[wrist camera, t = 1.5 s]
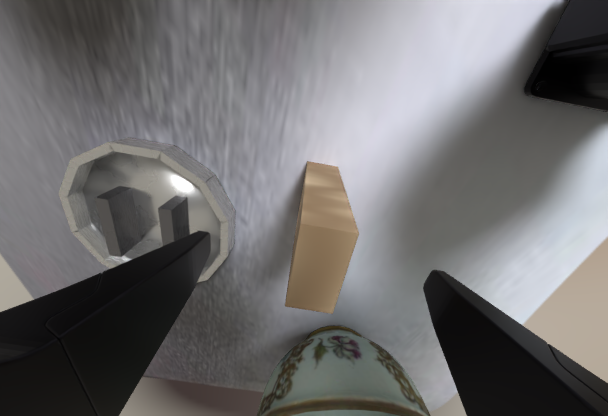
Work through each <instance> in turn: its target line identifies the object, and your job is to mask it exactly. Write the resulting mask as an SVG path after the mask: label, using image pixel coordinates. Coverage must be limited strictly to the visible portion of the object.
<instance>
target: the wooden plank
mask: <svg viewBox="0 0 608 416" xmlns="http://www.w3.org/2000/svg"><path fill="white" fill-rule="evenodd" d="M358 235H359V232H358V229H357V226H356V222H355V219H354V216H353V213H352V210H351V207H350V204H349V201H348V197H347V194H346V191H345V188H344V185H343V182H342V179H341V176H340V172H339V169H338V167H336V166H330V165H325V164H319V163H313V162H308V161H307V167H306V172H305V178H304V184H303V189H302V195H301V200H300V206H299V211H298V217H297V225H296V232H295V239H294V246H293V253H292V260H291V267H290V274H289V281H288V288H287V295H286V302H285V306H286V307H292V308H299V309H305V310H312V311H318V312H325V313H331V314H333V311H334V308H335V305H336V302H337V299H338V296H339V293H340V290H341V287H342V284H343V281H344V278H345V275H346V272H347V268H348V265H349V262H350V259H351V256H352V253H353V250H354V247H355V244H356V241H357V238H358Z"/></svg>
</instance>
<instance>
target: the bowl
mask: <svg viewBox="0 0 608 416" xmlns="http://www.w3.org/2000/svg"><path fill="white" fill-rule="evenodd" d="M257 416H430V414H429V412H428V410H427V408H426V406H425V403H424V401H423V399H422V397H421V395H420V394H419V392H418V390H417V388H416V387H415V385H414V383H413V381H412V380H411V378H410V377H409V375H408V374H407V373H406V371H405V370H404V369H403V368H402V366H401V365H400V364H399V363H398V362H397V361H396V360H395V359H394V358H393V357H392V356H391V355H390V354H389V353H388V352H387V351H386V350H384V349H383V348H381V347H380V346H379V345H377V344H375V343H374V342H372V341H370V340H367V339H365V338H362V336H361V335H359V334H358V333H356V332H355V331H353V330H351V329H349V328H346V327H342V326H327V327H322V328H320V329H317V330H315V331H313V332H312V333H311V334H310V335H309V336H308V337H307V339H306V340H305V341H303V342H302V343H300V344H298V345H297V346H295V347H294V348H293V349H291V350H290V351H289V352H288V353H287V354H286V355H285V357H284V358H283V359H282V360H281V361H280V363H279V364H278V365H277V367H276V368H275V370H274V371H273V373H272V375H271V377H270V379H269V381H268V383H267V386H266V388H265V391H264V394H263V396H262V400H261V403H260V406H259V410H258V414H257Z"/></svg>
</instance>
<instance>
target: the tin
mask: <svg viewBox="0 0 608 416" xmlns="http://www.w3.org/2000/svg"><path fill="white" fill-rule="evenodd" d="M59 197H60V200H61V202H62V205H63V208H64V211H65V214H66V217H67V220H68V223H69V226H70V229H71V231H72V233H73V234H74V235H75V236H76V237H77V238H78V239H79V240H80V241H81V242H82V243H83V245H84V246H85V247H86V248H87V249H88V250H89V251H90V252H91V253H92V254H93V255H94V256H95V257H96V258H97V259H98V261H99V262H100V263H102V264H104V265H105V266H107V267H109V268H113V267H115V266H118V265H120V264H122V263H125V262H127V261H129V260H132V259H134V258H136V257H139V256H141V255H143V254H146V253H148V252H150V251H153V250H155V249H157V248H160V247H162V246H164V245H166V244H169V243H171V242H173V241H176V240H178V239H180V238H183V237H185V236H187V235H190V234H192V233H194V232H197V231H206V232H209V233H210V235H211V252H210V255H209V257H208V260H207V262H206V264H205V266H204V268H203V271H202V273H201V275H200V277H199V280H198V282H202V281H205V280H208V279H209V278H210V277H211V275H212V274H213V273H214V272H215V271H216V270H217V268H218V267H219V266H220V265H221V264H222V263H223V261H224V260H225V259H226V258H227V256H228V255H229V253H230V251H231V249H232V247H233V245H234V240H235V215H236V211H235V209H234V207H233V205H232V204H231V202H230V200H229V198H228V196H227V195H226V193H225V191H224V189H223V187H222V186H221V184H220V182H219V180H218V178H217V177H216V175H215V174H214V173H213V172H211V171H210V170H209V169H207V168H206V167H204V166H203V165H202V164H200V163H199V162H197V161H196V160H195V159H193V158H192V157H190V156H189V155H188V154H186V153H185V152H183V151H182V150H181V149H179V148H178V147H177V146H174V145H169V144H163V143H157V142H152V141H146V140H141V139H135V138H124V139H120V140H116V141H111V142H108V143H105V144H103V145H101V146H99V147H96V148H94V149H92V150H90V151H88V152H85V153H83V154H81V155H79V156H77V157H74V158H72V159H70V162H69V165H68V168H67V171H66V174H65V176H64V179H63V182H62V185H61V188H60V191H59ZM198 282H197V283H198Z"/></svg>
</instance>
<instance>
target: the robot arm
mask: <svg viewBox="0 0 608 416" xmlns="http://www.w3.org/2000/svg"><path fill="white" fill-rule="evenodd" d="M539 82H540V86H539V88H538V89H537V90H536V85H537V84H538V83H539ZM524 92H525V94H526V95H527V96H529V97H534V98H539V99H544V100H549V101H554V102H559V103H564V104H569V105H575V106H580V107H585V108H590V109H595V110H600V111H605V112H608V0H570V2H569V4H568V6H567V8H566V10H565V11H564V13H563V15H562V17H561V19H560V21H559V23H558V25H557V26H556V28H555V30H554V32H553V34H552V36H551V38H550V40H549V41H548V43H547V46H546V48H545V49H544V51H543V53H542V55H541V57H540V59H539V61H538V63H537V64H536V66H535V68H534V70H533V72H532V74H531V76H530V78H529V79H528V81H527V83H526V85H525V88H524ZM210 252H211V235H210V233H209V232H206V231H197V232H194V233H192V234H190V235H187V236H185V237H183V238H180V239H178V240H176V241H173V242H171V243H169V244H166V245H164V246H162V247H160V248H157V249H155V250H153V251H150V252H148V253H146V254H143V255H141V256H139V257H136V258H134V259H132V260H129V261H127V262H125V263H122V264H120V265H118V266H115V267H113V268H111V269H108V270H106V271H104V272H103V273H99V274H97V275H94V276H92V277H90V278H87V279H85V280H83V281H80V282H78V283H75V284H73V285H71V286H68V287H66V288H63V289H61V290H58V291H56V292H53V293H50V294H48V295H45V296H43V297H40V298H37V299H35V300H32V301H29V302H26V303H24V304H21V305H19V306H16V307H13V308H10V309H8V310H5V311H2V312H0V416H119V414H120V413H121V411H122V409H123V408H124V406H125V404H126V402H127V401H128V399H129V398H130V396H131V394H132V393H133V391H134V389H135V388H136V386H137V384H138V383H139V381H140V379H141V377H142V376H143V374H144V372H145V371H146V369H147V367H148V366H149V364H150V362H151V361H152V359H153V357H154V356H155V354H156V352H157V351H158V349H159V347H160V346H161V344H162V342H163V341H164V339H165V337H166V336H167V334H168V332H169V330H170V329H171V327H172V325H173V324H174V322H175V320H176V319H177V317H178V315H179V314H180V312H181V310H182V309H183V307H184V305H185V304H186V302H187V300H188V299H189V297H190V295H191V293H192V292H193V290H194V288H195V286H196V284H197V282H198V280H199V277H200V275H201V273H202V271H203V268H204V266H205V264H206V262H207V260H208V257H209V255H210ZM423 289H424V294H425V297H426V301H427V305H428V309H429V312H430V316H431V320H432V323H433V326H434V329H435V332H436V335H437V338H438V340H439V343H440V345H441V348H442V351H443V353H444V356H445V359H446V361H447V364H448V367H449V369H450V372H451V375H452V377H453V380H454V383H455V385H456V388H457V391H458V393H459V396H460V398H461V401H462V404H463V406H464V409H465V412H466V414H467V416H608V383H606V382H605V381H603V380H602V379H600V378H599V377H597V376H596V375H594V374H593V373H591V372H590V371H588V370H587V369H585V368H584V367H582V366H581V365H579V364H578V363H576V362H575V361H573V360H572V359H570V358H569V357H567V356H566V355H564V354H563V353H561V352H560V351H559V350H557V349H556V348H554V347H553V346H551V345H550V344H547V342H546V341H544V340H543V339H541V338H540V337H538V336H537V335H535V334H534V333H532V332H531V331H530V330H528V329H527V328H525V327H524V326H522V325H521V324H519V323H518V322H517V321H515V320H514V319H512V318H511V317H509V316H508V315H506V314H505V313H504V312H502V311H501V310H499V309H498V308H496V307H495V306H493V305H492V304H491V303H489V302H488V301H486V300H485V299H483V298H482V297H480V296H479V295H478V294H476V293H475V292H473V291H472V290H470V289H469V288H467V287H466V286H465V285H463V284H462V283H460V282H459V281H457V280H456V279H454V278H453V277H451V276H450V275H449V274H447V273H446V272H444V271H439V270H432V271H431V272H430V274H429V276H428V278H427V280H426V281H425V283H424V287H423Z"/></svg>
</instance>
